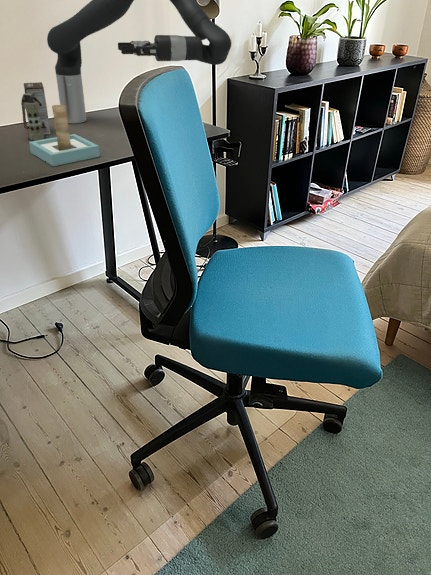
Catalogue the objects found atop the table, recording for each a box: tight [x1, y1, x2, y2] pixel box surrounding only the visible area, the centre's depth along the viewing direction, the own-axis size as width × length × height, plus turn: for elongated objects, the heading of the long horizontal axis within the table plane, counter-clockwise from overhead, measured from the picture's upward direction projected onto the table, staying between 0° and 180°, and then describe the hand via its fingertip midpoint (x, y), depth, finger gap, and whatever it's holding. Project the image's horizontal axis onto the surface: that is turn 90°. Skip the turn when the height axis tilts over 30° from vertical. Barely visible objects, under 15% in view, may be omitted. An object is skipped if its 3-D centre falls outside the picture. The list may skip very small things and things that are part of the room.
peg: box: [51, 104, 71, 151], centre depth 147 cm, size 4×4×15 cm
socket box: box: [28, 133, 101, 167], centre depth 150 cm, size 16×16×4 cm
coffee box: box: [23, 81, 52, 136], centre depth 167 cm, size 9×6×16 cm
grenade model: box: [20, 92, 46, 141], centre depth 161 cm, size 6×7×15 cm
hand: (119, 48), depth 147 cm, fingers open, 8 cm apart
